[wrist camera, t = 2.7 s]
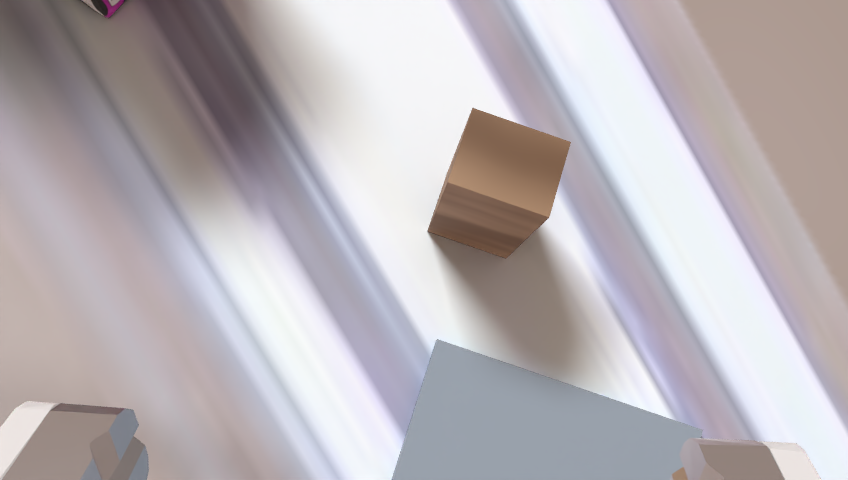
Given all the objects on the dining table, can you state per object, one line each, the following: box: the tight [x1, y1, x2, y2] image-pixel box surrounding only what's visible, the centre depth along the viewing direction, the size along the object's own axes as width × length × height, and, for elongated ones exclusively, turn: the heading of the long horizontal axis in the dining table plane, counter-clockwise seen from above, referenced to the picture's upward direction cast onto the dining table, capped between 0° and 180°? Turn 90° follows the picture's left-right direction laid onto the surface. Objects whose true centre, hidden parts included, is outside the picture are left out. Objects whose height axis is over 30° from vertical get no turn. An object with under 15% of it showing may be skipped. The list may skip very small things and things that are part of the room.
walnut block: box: [428, 108, 571, 258], centre depth 34 cm, size 4×5×9 cm
